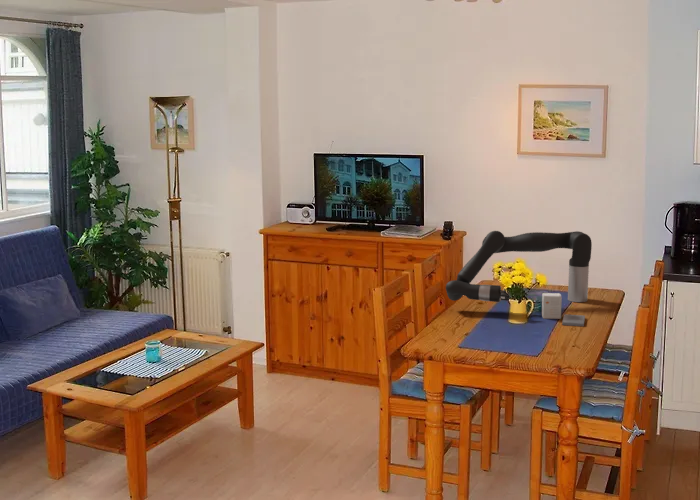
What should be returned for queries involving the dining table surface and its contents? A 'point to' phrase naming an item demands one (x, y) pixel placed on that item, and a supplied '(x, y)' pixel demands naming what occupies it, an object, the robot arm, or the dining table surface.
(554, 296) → the small box
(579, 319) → the slate tile
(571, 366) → the dining table surface
